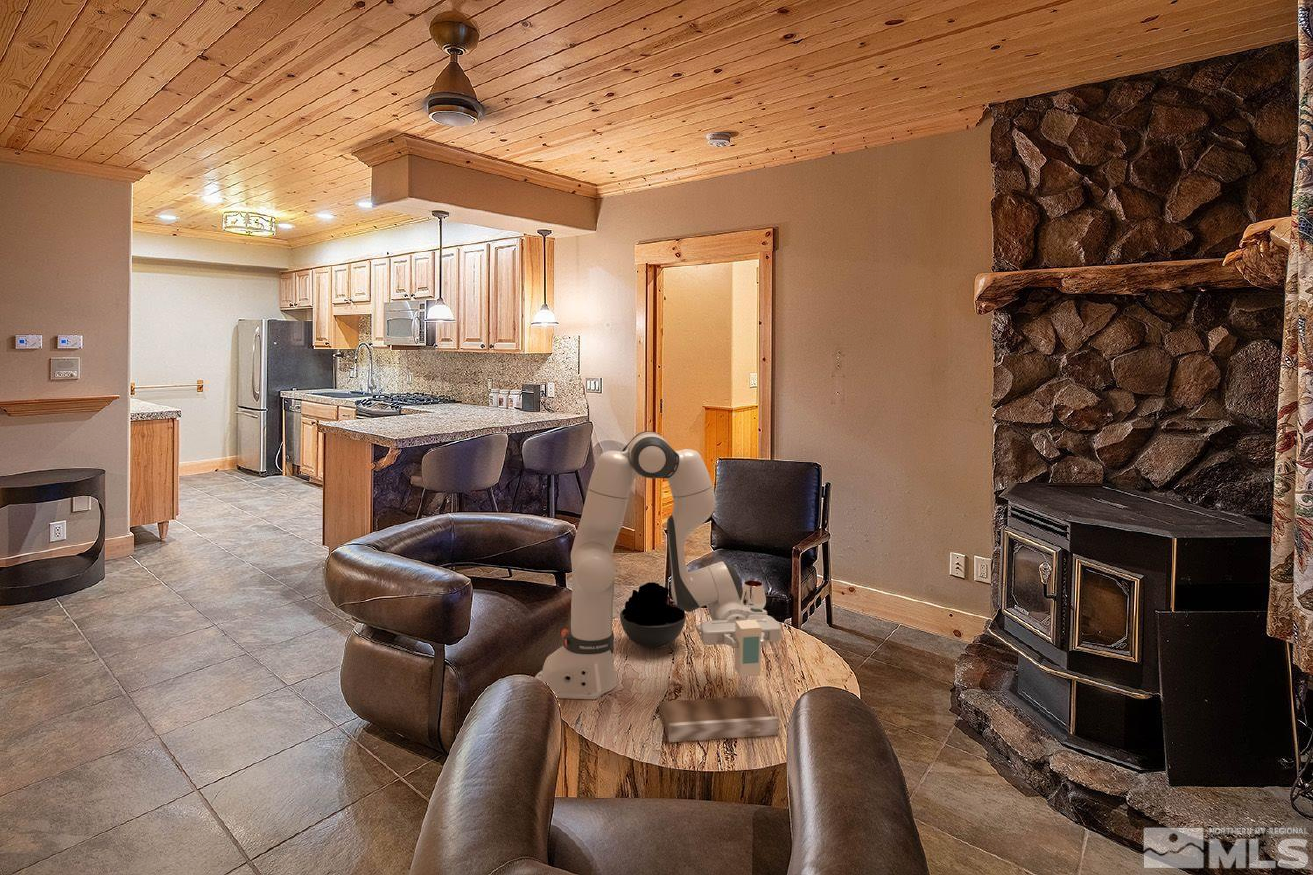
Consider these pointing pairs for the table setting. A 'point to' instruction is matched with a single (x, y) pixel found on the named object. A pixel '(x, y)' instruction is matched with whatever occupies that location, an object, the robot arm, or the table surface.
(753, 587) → the wineglass
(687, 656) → the table surface
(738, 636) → the carton
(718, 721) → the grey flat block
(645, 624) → the coal bowl
